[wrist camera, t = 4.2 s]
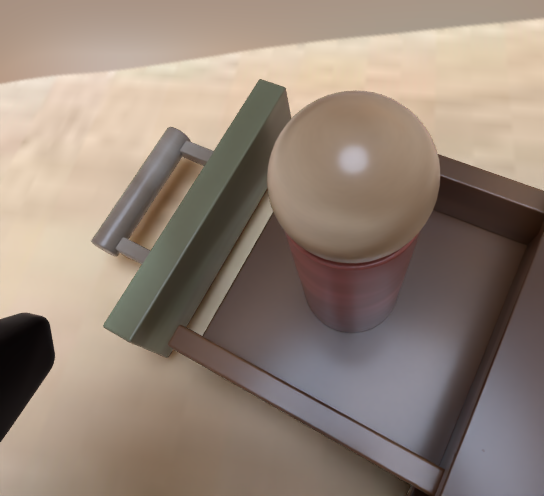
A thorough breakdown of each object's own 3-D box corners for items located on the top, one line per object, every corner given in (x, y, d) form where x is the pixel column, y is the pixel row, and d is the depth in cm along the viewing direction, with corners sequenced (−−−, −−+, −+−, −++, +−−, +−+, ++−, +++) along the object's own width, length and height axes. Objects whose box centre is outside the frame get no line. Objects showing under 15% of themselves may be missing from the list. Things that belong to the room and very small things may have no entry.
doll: (320, 349, 17) (285, 250, 8) (290, 260, 18) (231, 87, 9) (415, 318, 17) (494, 180, 8) (378, 230, 18) (408, 26, 9)
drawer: (74, 303, 20) (20, 278, 17) (205, 106, 23) (180, 51, 20) (441, 517, 15) (465, 539, 12) (550, 235, 18) (595, 191, 15)
